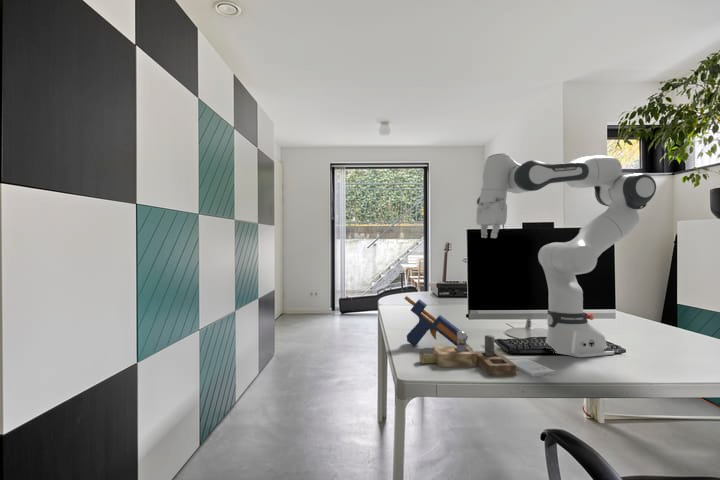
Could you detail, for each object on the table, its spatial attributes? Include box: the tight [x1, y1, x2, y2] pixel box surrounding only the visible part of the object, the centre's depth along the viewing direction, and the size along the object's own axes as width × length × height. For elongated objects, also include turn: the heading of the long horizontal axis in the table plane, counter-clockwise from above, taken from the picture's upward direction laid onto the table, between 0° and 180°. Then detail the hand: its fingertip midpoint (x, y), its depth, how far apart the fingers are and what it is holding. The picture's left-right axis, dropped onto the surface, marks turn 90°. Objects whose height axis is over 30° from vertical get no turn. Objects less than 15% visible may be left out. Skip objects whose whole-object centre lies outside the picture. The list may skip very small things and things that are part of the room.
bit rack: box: [473, 334, 517, 377], centre depth 129 cm, size 8×15×9 cm, turn 3°
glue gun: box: [404, 295, 473, 350], centre depth 154 cm, size 6×31×15 cm
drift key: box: [419, 352, 437, 365], centre depth 134 cm, size 8×3×3 cm, turn 93°
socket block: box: [432, 345, 478, 368], centre depth 134 cm, size 12×9×4 cm
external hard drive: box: [510, 358, 557, 377], centre depth 127 cm, size 2×8×12 cm
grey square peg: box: [457, 330, 467, 352], centre depth 134 cm, size 3×3×10 cm
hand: (488, 237), depth 145 cm, fingers open, 8 cm apart
